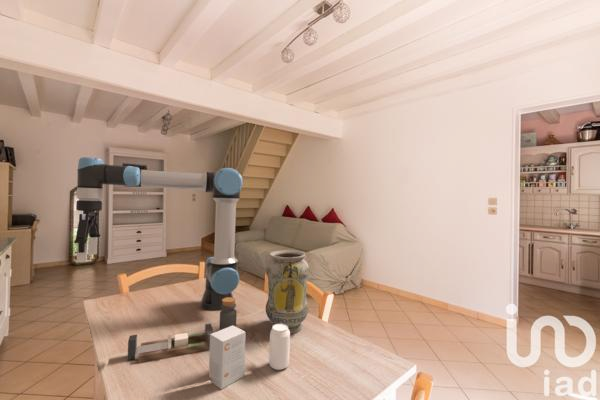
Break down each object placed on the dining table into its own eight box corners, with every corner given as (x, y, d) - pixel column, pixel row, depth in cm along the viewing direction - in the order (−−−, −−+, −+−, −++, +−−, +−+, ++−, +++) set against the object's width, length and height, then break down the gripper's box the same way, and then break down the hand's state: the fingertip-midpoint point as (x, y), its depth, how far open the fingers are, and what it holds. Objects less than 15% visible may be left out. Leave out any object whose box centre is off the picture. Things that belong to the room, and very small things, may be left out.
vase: (264, 338, 103) (266, 257, 103) (263, 318, 120) (265, 249, 121) (311, 336, 106) (314, 257, 106) (303, 316, 123) (306, 249, 123)
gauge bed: (210, 339, 101) (210, 323, 101) (213, 352, 92) (214, 334, 92) (140, 351, 91) (141, 333, 91) (137, 367, 83) (138, 347, 83)
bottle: (238, 338, 102) (240, 298, 102) (229, 346, 96) (231, 303, 97) (225, 335, 104) (226, 295, 104) (215, 343, 98) (216, 300, 98)
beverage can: (271, 359, 90) (272, 322, 90) (290, 360, 89) (291, 323, 89) (267, 370, 83) (268, 330, 83) (287, 372, 83) (288, 332, 83)
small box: (231, 367, 85) (233, 324, 85) (244, 376, 80) (246, 331, 81) (207, 379, 78) (209, 333, 78) (220, 390, 74) (222, 341, 74)
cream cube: (187, 344, 95) (187, 332, 95) (187, 350, 91) (188, 338, 91) (174, 346, 93) (174, 334, 93) (174, 352, 90) (174, 340, 90)
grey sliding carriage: (171, 345, 93) (171, 328, 93) (171, 356, 87) (171, 338, 87) (129, 353, 88) (130, 334, 88) (126, 365, 82) (126, 345, 82)
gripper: (86, 199, 112) (84, 252, 112) (64, 199, 89) (62, 266, 89) (109, 200, 115) (107, 251, 115) (93, 200, 92) (90, 264, 92)
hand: (87, 257), depth 102 cm, fingers open, 13 cm apart
